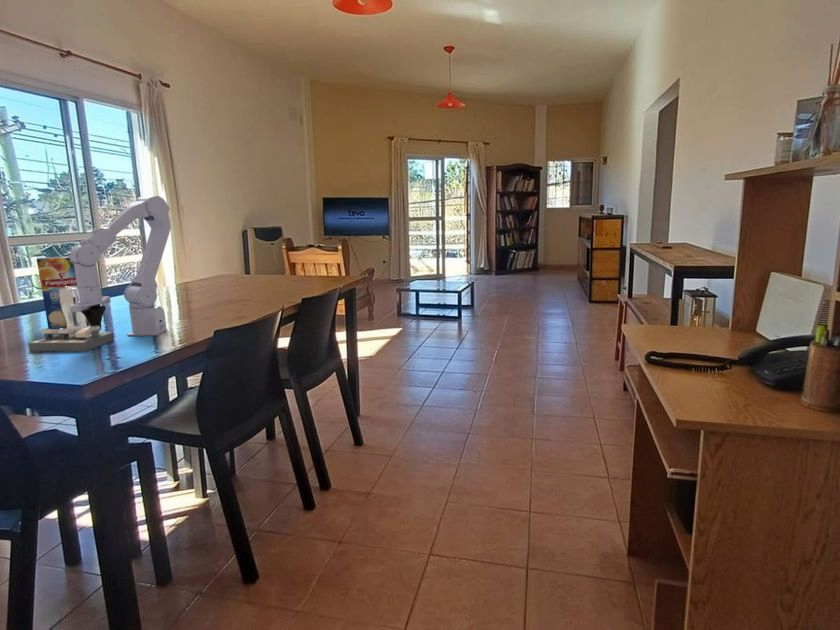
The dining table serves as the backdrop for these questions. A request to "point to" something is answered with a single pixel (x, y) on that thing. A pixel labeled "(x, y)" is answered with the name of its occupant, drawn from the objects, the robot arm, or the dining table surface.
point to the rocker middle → (67, 331)
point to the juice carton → (55, 287)
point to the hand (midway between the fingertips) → (96, 330)
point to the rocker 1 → (49, 331)
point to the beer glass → (67, 300)
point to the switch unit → (70, 342)
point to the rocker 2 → (87, 331)
